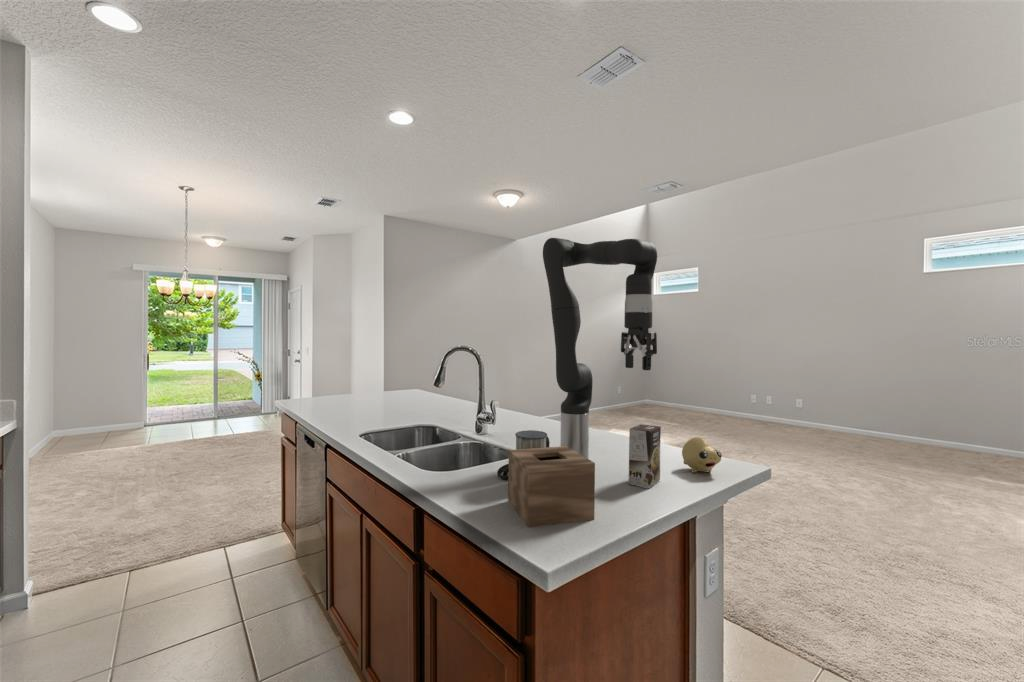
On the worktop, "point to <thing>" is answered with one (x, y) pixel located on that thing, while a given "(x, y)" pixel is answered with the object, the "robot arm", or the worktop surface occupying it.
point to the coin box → (551, 485)
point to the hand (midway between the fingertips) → (637, 369)
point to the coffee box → (644, 455)
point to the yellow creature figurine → (700, 455)
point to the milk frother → (526, 445)
